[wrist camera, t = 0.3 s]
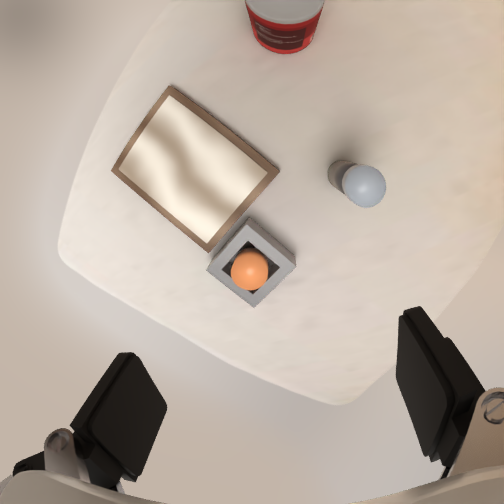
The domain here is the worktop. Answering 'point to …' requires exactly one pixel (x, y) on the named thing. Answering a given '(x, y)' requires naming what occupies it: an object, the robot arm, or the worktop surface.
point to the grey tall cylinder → (358, 182)
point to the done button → (250, 269)
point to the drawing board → (192, 168)
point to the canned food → (284, 23)
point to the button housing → (266, 245)
